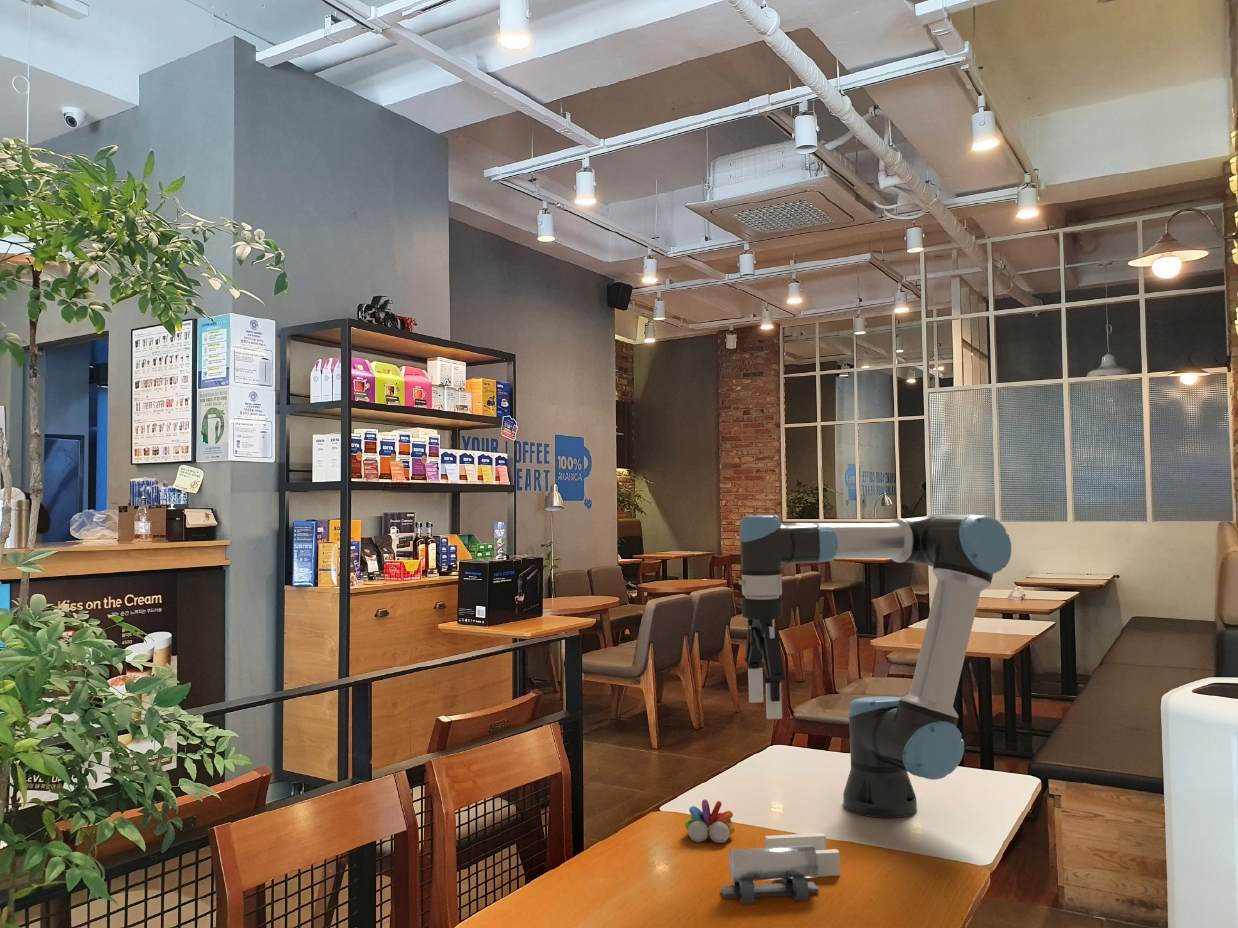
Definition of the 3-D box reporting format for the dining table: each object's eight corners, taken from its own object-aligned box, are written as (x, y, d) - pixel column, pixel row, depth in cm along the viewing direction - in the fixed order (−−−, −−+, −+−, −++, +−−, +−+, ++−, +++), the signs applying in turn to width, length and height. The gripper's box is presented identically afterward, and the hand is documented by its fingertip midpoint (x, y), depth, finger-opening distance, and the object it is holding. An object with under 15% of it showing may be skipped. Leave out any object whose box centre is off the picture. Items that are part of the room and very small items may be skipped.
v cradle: (808, 880, 159) (808, 860, 159) (823, 899, 151) (822, 879, 151) (718, 885, 158) (717, 865, 158) (727, 905, 150) (727, 884, 150)
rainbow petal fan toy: (733, 846, 175) (732, 808, 176) (683, 844, 177) (682, 805, 177) (735, 830, 184) (735, 794, 184) (687, 828, 185) (687, 792, 186)
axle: (812, 877, 156) (807, 846, 159) (819, 876, 152) (815, 844, 154) (731, 882, 155) (728, 850, 157) (736, 881, 151) (733, 848, 153)
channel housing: (823, 854, 170) (822, 832, 170) (840, 875, 161) (839, 852, 161) (765, 857, 169) (764, 835, 169) (778, 878, 160) (778, 855, 160)
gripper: (728, 590, 185) (731, 696, 185) (758, 604, 161) (761, 726, 160) (764, 589, 186) (767, 694, 185) (800, 603, 161) (803, 724, 160)
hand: (764, 710), depth 172 cm, fingers open, 13 cm apart
